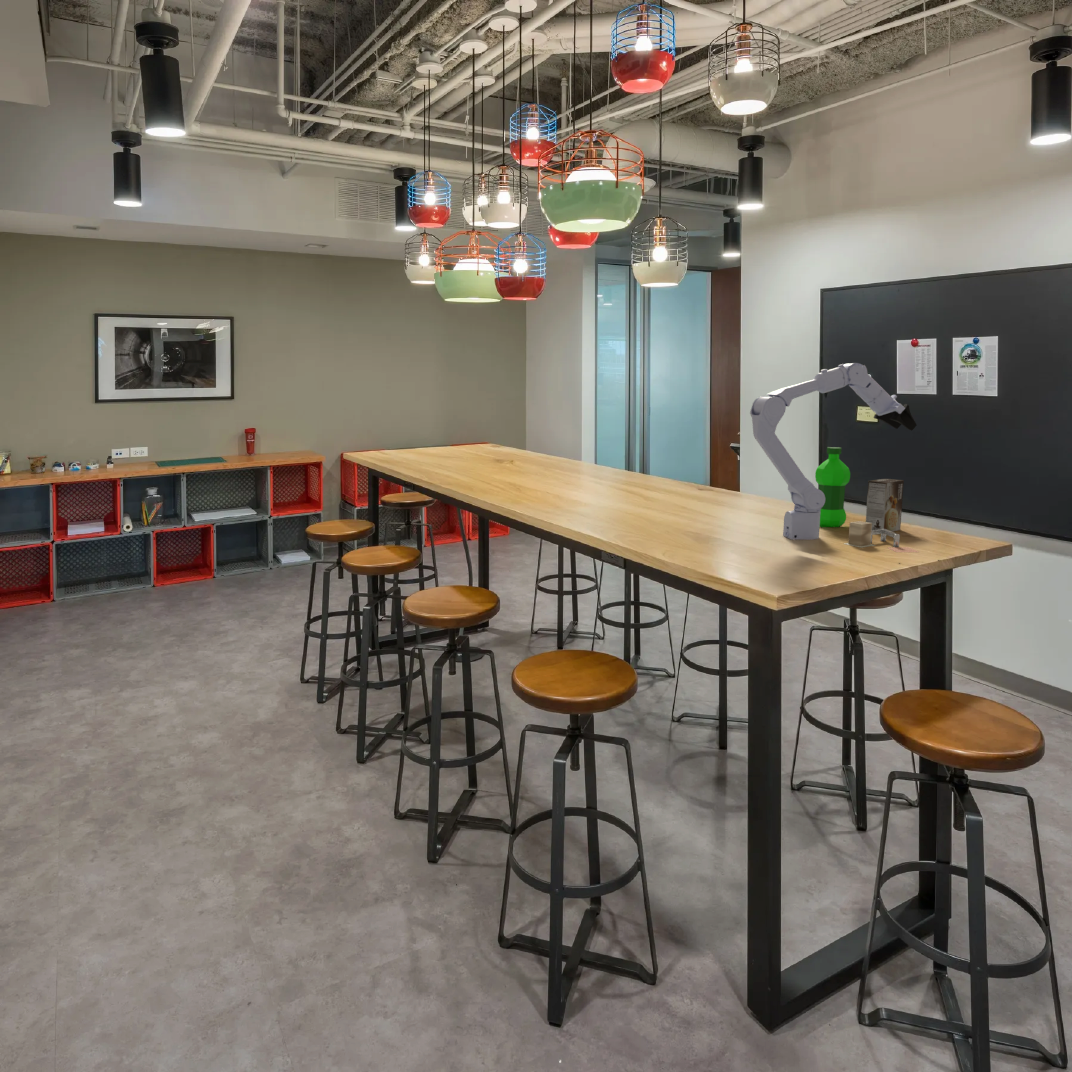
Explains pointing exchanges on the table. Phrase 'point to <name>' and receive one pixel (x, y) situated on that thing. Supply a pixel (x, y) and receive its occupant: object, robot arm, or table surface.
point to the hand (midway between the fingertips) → (906, 427)
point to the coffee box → (884, 504)
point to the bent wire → (883, 536)
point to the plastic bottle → (832, 488)
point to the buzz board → (896, 549)
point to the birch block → (860, 533)
